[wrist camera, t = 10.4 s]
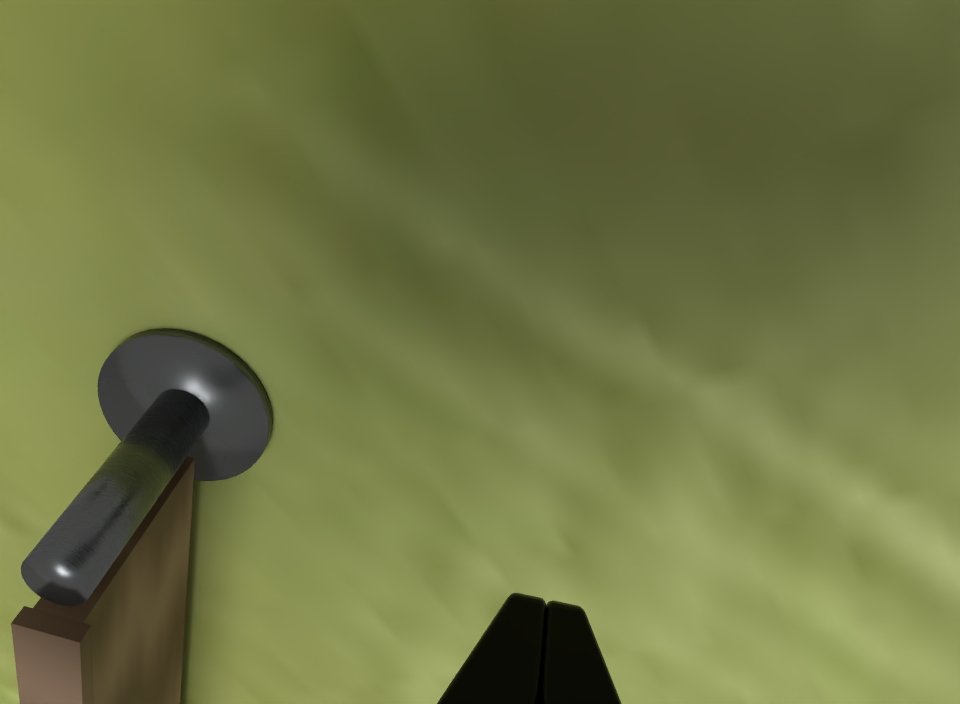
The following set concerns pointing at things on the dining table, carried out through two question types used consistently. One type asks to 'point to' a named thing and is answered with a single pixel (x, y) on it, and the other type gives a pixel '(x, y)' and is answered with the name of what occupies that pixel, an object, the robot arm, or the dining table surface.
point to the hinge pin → (151, 450)
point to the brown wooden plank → (117, 620)
